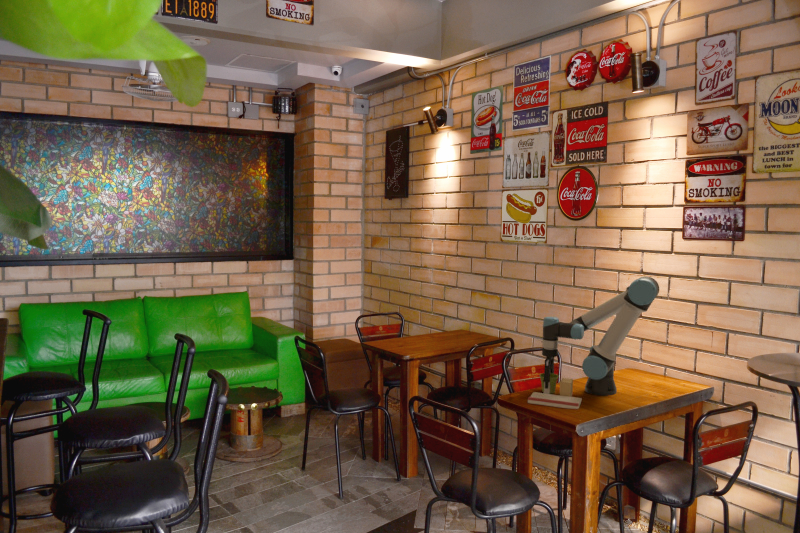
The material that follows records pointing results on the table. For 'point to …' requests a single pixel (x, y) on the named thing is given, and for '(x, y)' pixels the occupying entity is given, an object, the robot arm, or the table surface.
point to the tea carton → (566, 387)
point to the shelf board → (555, 400)
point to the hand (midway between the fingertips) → (548, 391)
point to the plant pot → (552, 382)
